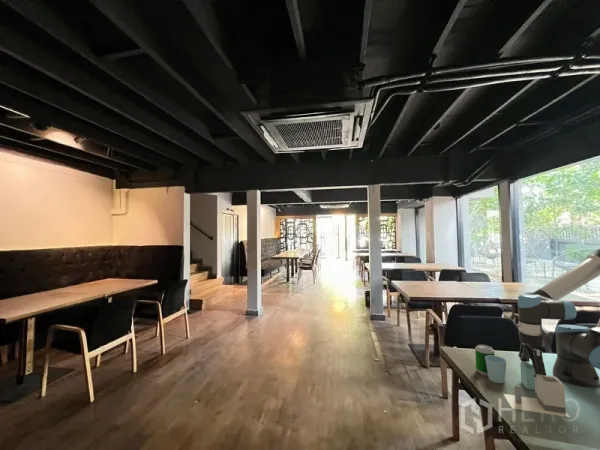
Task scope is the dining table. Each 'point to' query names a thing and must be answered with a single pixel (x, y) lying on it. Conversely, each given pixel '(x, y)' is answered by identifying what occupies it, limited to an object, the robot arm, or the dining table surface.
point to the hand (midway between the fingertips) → (532, 385)
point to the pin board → (527, 403)
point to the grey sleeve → (551, 393)
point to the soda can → (482, 358)
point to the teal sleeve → (528, 376)
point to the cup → (496, 368)
